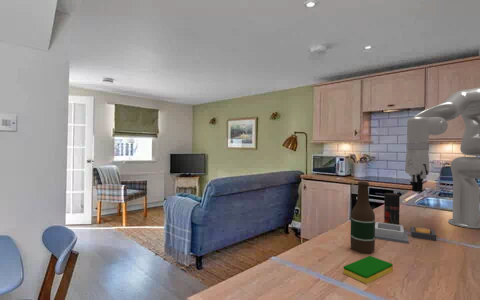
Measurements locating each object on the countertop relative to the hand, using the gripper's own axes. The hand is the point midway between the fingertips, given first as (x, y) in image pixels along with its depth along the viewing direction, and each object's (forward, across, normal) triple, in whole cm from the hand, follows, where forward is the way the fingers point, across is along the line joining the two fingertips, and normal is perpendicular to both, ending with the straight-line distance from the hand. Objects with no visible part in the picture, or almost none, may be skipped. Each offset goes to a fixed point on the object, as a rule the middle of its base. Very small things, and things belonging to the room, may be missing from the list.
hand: (417, 191), depth 110 cm
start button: (+17, +2, +1) cm, 17 cm away
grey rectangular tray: (+18, +3, -12) cm, 22 cm away
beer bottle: (+18, +20, -28) cm, 39 cm away
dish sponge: (+18, +37, -32) cm, 52 cm away
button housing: (+18, +2, +1) cm, 18 cm away
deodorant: (+18, -8, -6) cm, 21 cm away
